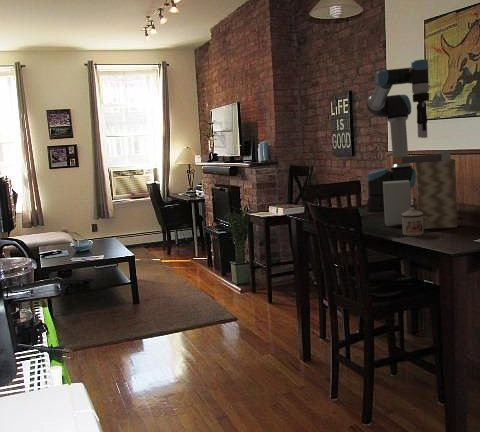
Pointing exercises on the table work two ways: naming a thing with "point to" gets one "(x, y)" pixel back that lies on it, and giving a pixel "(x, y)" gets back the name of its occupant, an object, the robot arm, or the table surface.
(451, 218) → the wood grain block
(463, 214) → the table surface
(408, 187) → the block
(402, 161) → the brown bar
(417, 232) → the teacup with lid
